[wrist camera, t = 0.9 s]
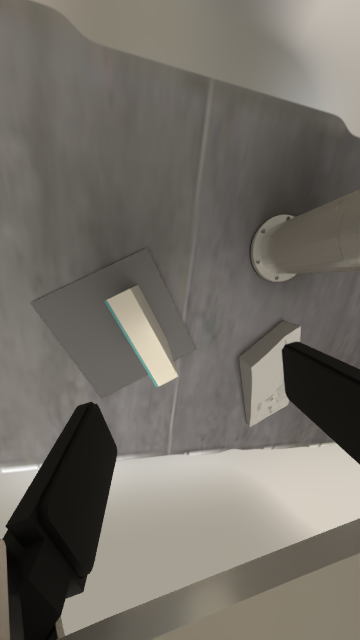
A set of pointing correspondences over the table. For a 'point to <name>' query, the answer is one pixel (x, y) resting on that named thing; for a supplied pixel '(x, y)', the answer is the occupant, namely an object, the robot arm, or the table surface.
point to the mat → (111, 321)
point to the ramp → (266, 373)
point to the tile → (143, 334)
